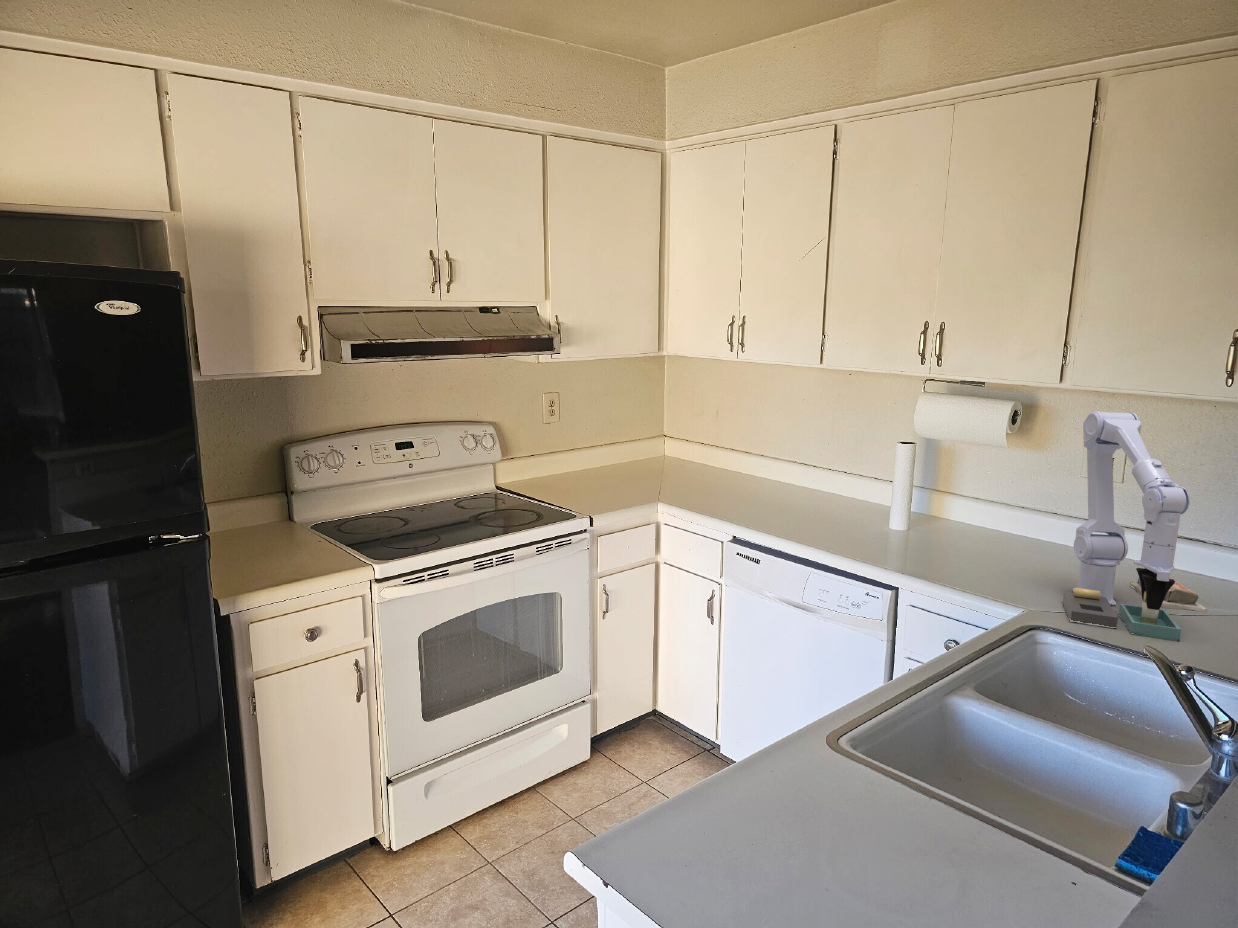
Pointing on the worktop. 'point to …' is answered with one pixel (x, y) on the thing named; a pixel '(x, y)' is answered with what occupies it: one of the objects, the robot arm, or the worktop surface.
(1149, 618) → the cylinder
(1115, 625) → the fuse board
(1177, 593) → the packaged product
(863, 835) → the worktop surface
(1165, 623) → the parts tray
